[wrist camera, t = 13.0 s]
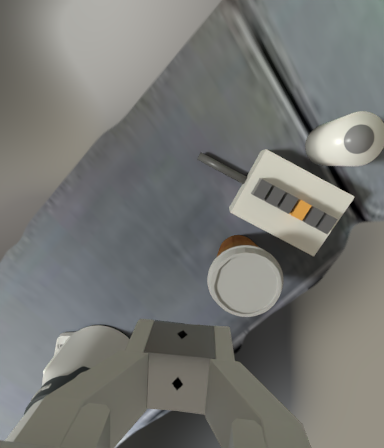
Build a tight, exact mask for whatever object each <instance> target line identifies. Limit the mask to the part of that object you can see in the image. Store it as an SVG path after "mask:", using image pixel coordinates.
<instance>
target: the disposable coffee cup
mask: <svg viewBox="0 0 384 448" xmlns="http://www.w3.org/2000/svg"><path fill="white" fill-rule="evenodd" d="M207 281H208V288H209V291H210V294H211V296H212V297H213V299H214V300H215V301H216V303H217V304H218V305H219V306H221V307H222V308H223V309H224V310H225V311H227V312H229V313H231V314H233V315H236V316H241V317H250V316H256V315H259V314H262V313H264V312H266V311H267V310H269V309H270V308H271V307H272V306H273V305H274V304H275V303H276V301H277V300H278V298H279V296H280V293H281V290H282V287H283V273H282V269H281V267H280V265H279V263H278V262H277V260H276V259H275V258H274V257H273V256H272V255H271V254H270V253H268V252H267V251H265V250H264V249H262V248H259V247H258V246H257V245H256V244H255V243H254V242H253V241H252V240H250V239H249V238H247V237H245V236H242V235H234V236H231V237H229V238H227V239H226V240H225V241H224V242H223V243H222V244H221V246H220V249H219V252H218V255H217V257H216V259H215V260H214V261H213V263H212V265H211V266H210V269H209V272H208V279H207Z"/></svg>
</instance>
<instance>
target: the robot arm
mask: <svg viewBox="0 0 384 448" xmlns="http://www.w3.org/2000/svg"><path fill="white" fill-rule="evenodd" d="M43 373H44V376H43V381H42V387H41V389H40V390H39V391H38V392H37V393H36V394H35V395H34V397H33V398H32V400H31V402H30V403H29V405H28V406H27V408H26V410H25V413H24V416H23V417H22V419H21V420H20V421H19V423H18V424H17V425H16V427H15V428H14V429H13V431H12V432H11V433H10V434H9V436H8V437H7V438H6V440H5V441H1V440H0V448H114V447H115V446H116V445H117V443H118V442H119V441H120V440H121V439H122V438H123V437H124V435H125V434H126V433H127V432H128V431H129V430H130V429H131V427H132V426H133V425H134V424H135V423H136V422H137V420H138V419H139V418H140V417H141V416H142V415H143V414H144V412H145V411H146V408H147V409H161V410H175V411H183V412H191V413H197V414H205V417H206V419H207V421H208V423H209V424H210V427H211V429H212V430H213V432H214V434H215V436H216V438H217V440H218V442H219V444H220V446H221V447H222V448H311V445H310V443H309V440H308V437H307V435H306V432H305V430H304V427H303V425H302V423H301V422H300V421H299V420H298V419H297V418H296V417H295V416H294V415H293V414H292V413H291V412H290V411H289V410H288V409H287V408H286V407H285V406H284V405H283V404H282V403H281V402H280V401H279V400H278V399H277V398H276V397H275V396H274V395H273V394H272V393H271V392H270V391H269V390H268V389H267V388H265V387H264V385H263V384H261V383H260V382H259V381H258V380H257V379H256V378H255V377H254V376H253V375H252V374H251V373H250V372H249V371H248V370H247V369H246V368H245V367H244V366H243V365H242V364H241V363H240V362H237V361H235V358H234V352H233V345H232V339H231V332H230V328H229V327H226V326H206V325H192V324H184V323H175V322H167V321H158V320H155V321H154V320H149V319H139V320H138V322H137V324H136V326H135V329H134V331H133V333H132V335H131V337H130V339H129V338H128V337H127V336H126V335H124V334H123V333H121V332H120V331H118V330H116V329H114V328H111V327H107V326H100V325H96V326H89V327H85V328H83V329H81V330H79V331H77V332H67V333H62V334H60V336H59V337H58V339H57V343H56V348H55V354H54V357H53V358H52V360H51V361H50V362H49V364H48V365H47V366H46V368H45V369H44V371H43Z"/></svg>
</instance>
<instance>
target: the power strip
mask: <svg viewBox="0 0 384 448" xmlns="http://www.w3.org/2000/svg"><path fill="white" fill-rule="evenodd" d="M197 160H199V161H201V162H203V163H205V164H207V165H208V166H210V167H212V168H214V169H216V170H218V171H220V172H222V173H223V174H225V175H227V176H229V177H231V178H233V179H235V180H237V181H238V182H240V183H242V186H241V188H240V189H239V191H238V193H237V195H236V197H235V198H234V200H233V202H232V204H231V205H230V207H229V210H230V213H232V214H234V215H236V216H238V217H240V218H242V219H244V220H246V221H247V222H249V223H251V224H253V225H255V226H257V227H259V228H261V229H263V230H264V231H266V232H268V233H270V234H272V235H274V236H276V237H278V238H280V239H282V240H283V241H285V242H287V243H289V244H291V245H293V246H295V247H297V248H299V249H300V250H302V251H304V252H306V253H308V254H310V255H312V256H315V254H316V253H317V251H318V250H319V248H320V247H321V246H322V244H323V243H324V241H325V240H326V238H327V237H328V235H329V234H330V232H331V231H332V229H333V228H334V227H335V225H336V224H337V222H338V221H339V219H340V218H341V216H342V215H343V213H344V212H345V211H346V209H347V208H348V206H349V205H350V203H351V202H352V200H353V199H354V196H352V195H350V194H349V193H347V192H345V191H343V190H341V189H339V188H337V187H335V186H334V185H332V184H330V183H328V182H326V181H324V180H322V179H321V178H319V177H317V176H315V175H313V174H311V173H309V172H308V171H306V170H304V169H302V168H300V167H298V166H296V165H295V164H293V163H291V162H289V161H287V160H285V159H283V158H282V157H280V156H278V155H276V154H274V153H272V152H270V151H269V150H267V149H265V150H262V151H261V152H260V154H259V156H258V157H257V159H256V161H255V163H254V165H253V166H252V168H251V170H250V172H249V173H248V175H247V177H246V176H244V175H243V174H241V173H239V172H237V171H235V170H233V169H231V168H229V167H228V166H226V165H224V164H222V163H220V162H218V161H216V160H214V159H213V158H211V157H209V156H207V155H205V154H203V153H200V155H199V157H198V159H197Z"/></svg>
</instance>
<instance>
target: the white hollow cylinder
mask: <svg viewBox="0 0 384 448" xmlns="http://www.w3.org/2000/svg"><path fill="white" fill-rule="evenodd" d="M383 147H384V123H383V122H382V120H381V119H380V118H379V117H378V116H376V115H375V114H373V113H370V112H355V113H352V114H349V115H347V116H344V117H341V118H339V119H336V120H333V121H330V122H328V123H325V124H322V125H320V126H318V127H316V128H315V129H313V130H312V131H311V133H310V134H309V135H308V137H307V140H306V143H305V151H306V154H307V156H308V158H309V159H310V160H311V161H312V162H313V163H315V164H317V165H321V166H361V165H364V164H367V163H369V162H371V161H372V160H374V159H375V158H376V157H377V156H378V155H379V154H380V152H381V151H382V149H383Z"/></svg>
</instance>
